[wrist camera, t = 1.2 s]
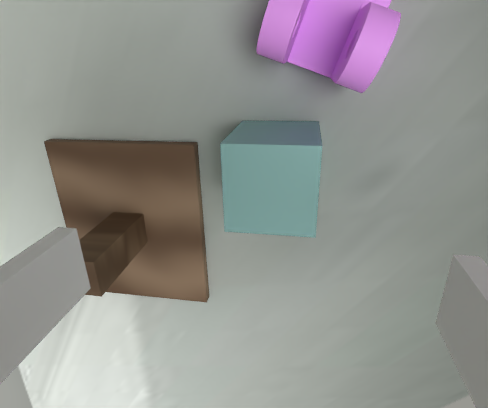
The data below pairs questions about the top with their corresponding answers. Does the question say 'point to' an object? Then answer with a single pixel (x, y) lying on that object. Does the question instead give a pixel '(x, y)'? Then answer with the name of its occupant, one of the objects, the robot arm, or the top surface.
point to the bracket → (330, 37)
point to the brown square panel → (134, 214)
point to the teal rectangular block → (272, 177)
